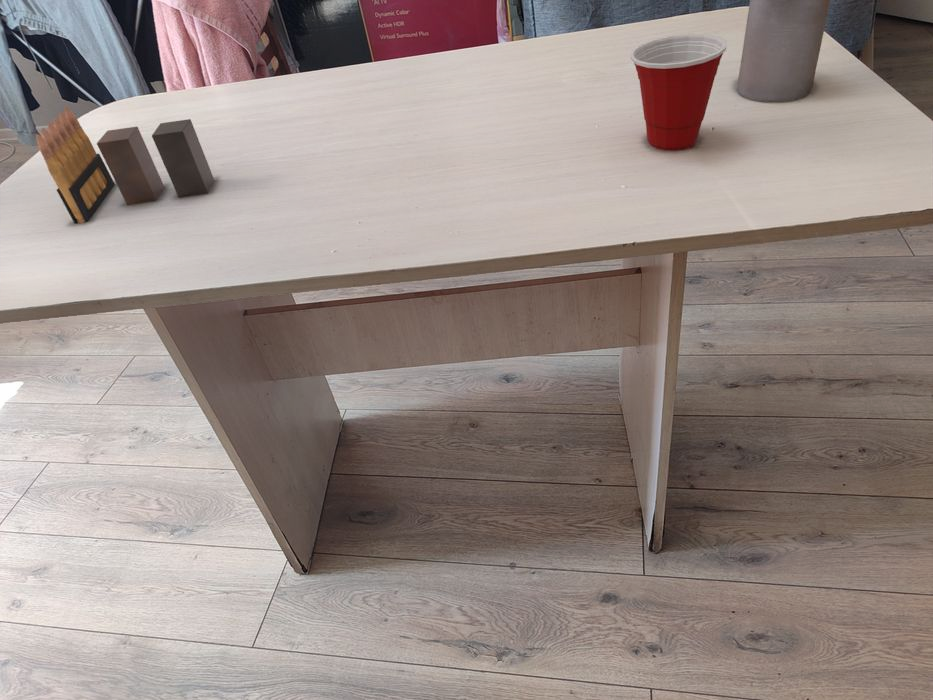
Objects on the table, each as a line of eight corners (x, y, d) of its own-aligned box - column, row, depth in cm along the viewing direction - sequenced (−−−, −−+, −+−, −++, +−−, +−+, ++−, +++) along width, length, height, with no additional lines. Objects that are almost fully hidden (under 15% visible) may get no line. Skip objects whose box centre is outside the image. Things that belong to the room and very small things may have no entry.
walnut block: (128, 207, 90) (96, 143, 84) (137, 193, 93) (107, 130, 87) (157, 203, 90) (127, 138, 84) (165, 189, 93) (137, 126, 87)
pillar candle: (775, 72, 99) (796, -44, 90) (827, 91, 92) (856, -32, 82) (721, 88, 97) (736, -28, 87) (770, 109, 90) (793, -15, 80)
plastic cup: (640, 122, 92) (645, 28, 84) (723, 129, 87) (736, 31, 79) (614, 157, 85) (617, 58, 77) (703, 167, 80) (715, 63, 72)
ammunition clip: (89, 224, 88) (40, 136, 80) (75, 226, 88) (25, 138, 80) (116, 186, 96) (75, 102, 88) (103, 188, 96) (61, 104, 88)
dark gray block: (179, 200, 90) (151, 135, 84) (187, 186, 93) (160, 123, 87) (208, 196, 90) (182, 131, 84) (215, 182, 93) (190, 118, 87)
